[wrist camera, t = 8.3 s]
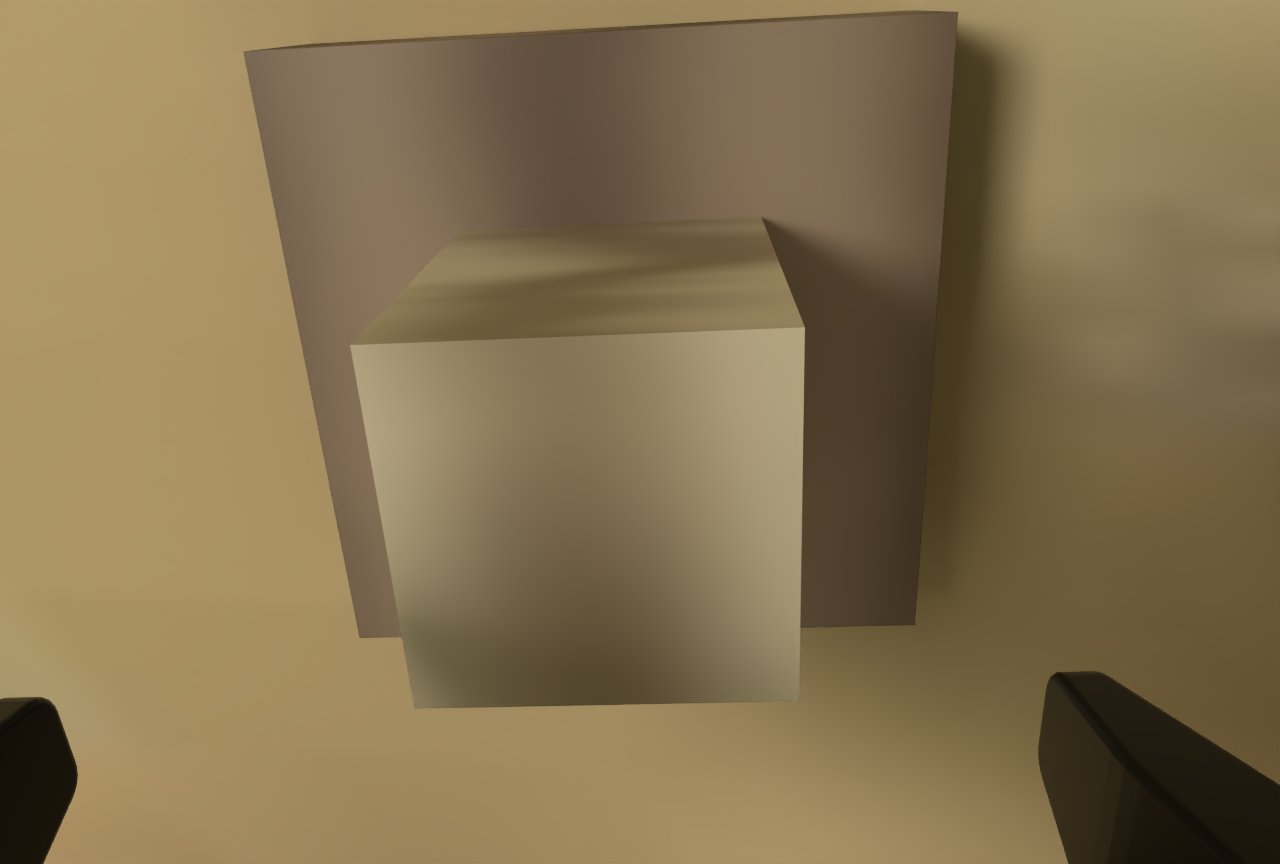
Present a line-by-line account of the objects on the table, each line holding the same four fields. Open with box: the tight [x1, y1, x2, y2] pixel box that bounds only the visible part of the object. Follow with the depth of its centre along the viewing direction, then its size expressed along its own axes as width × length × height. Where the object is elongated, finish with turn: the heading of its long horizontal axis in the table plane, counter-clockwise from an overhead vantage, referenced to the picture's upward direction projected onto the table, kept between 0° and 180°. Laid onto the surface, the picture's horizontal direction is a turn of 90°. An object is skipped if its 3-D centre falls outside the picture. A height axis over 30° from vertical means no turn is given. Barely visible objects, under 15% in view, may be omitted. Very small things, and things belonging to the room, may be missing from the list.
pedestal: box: [244, 11, 958, 638], centre depth 19 cm, size 11×11×3 cm
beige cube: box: [350, 217, 805, 709], centre depth 15 cm, size 5×5×6 cm
